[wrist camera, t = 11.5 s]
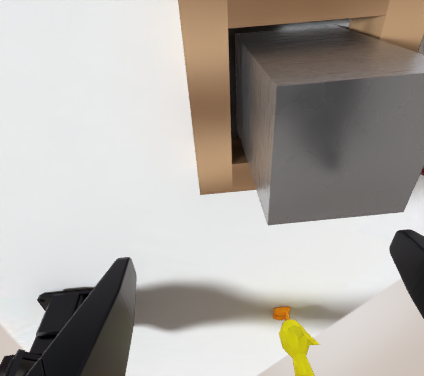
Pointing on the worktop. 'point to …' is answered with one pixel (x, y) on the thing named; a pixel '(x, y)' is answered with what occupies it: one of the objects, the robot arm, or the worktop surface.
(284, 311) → the toy figure
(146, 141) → the worktop surface
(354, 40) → the steel block
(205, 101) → the brown wooden square frame
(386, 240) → the worktop surface
